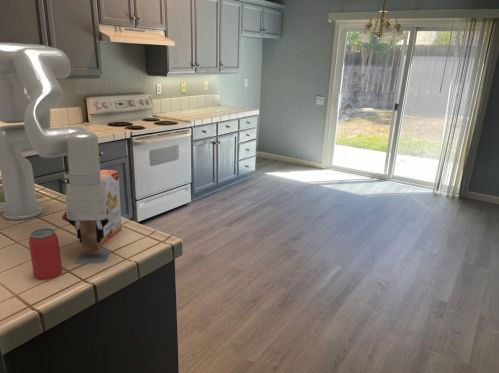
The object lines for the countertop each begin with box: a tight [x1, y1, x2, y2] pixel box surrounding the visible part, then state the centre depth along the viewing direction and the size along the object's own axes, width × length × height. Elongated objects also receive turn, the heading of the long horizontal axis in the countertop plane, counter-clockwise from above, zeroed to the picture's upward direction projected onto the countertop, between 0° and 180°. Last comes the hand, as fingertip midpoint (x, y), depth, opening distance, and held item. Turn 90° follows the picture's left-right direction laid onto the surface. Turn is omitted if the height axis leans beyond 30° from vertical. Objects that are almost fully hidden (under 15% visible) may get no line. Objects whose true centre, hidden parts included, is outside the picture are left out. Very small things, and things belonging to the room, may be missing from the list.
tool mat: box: [74, 248, 112, 265], centre depth 108 cm, size 8×8×1 cm
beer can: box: [28, 227, 63, 281], centre depth 98 cm, size 7×7×12 cm
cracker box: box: [100, 169, 123, 246], centre depth 117 cm, size 14×6×21 cm, turn 168°
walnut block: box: [79, 221, 102, 254], centre depth 106 cm, size 4×4×12 cm
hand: (91, 239), depth 107 cm, fingers closed on walnut block, 4 cm apart
